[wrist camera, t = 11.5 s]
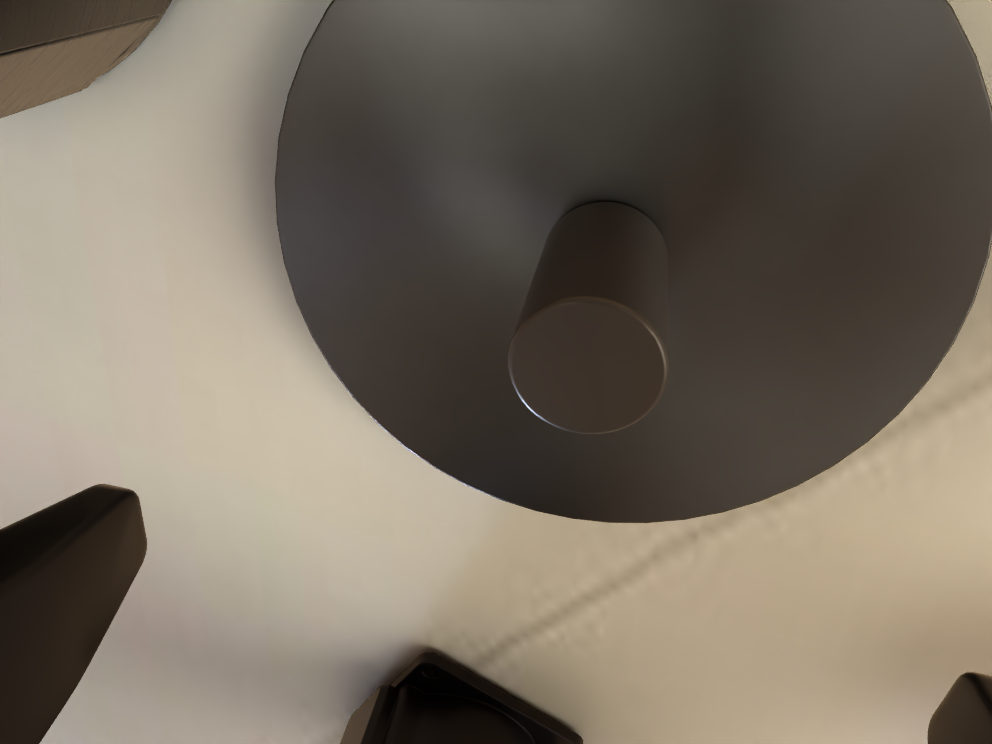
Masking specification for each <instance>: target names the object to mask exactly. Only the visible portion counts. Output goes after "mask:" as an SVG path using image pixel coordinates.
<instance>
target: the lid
mask: <svg viewBox="0 0 992 744" xmlns="http://www.w3.org/2000/svg"><path fill="white" fill-rule="evenodd" d="M275 191H276V212H277V225H278V231H279V237H280V242H281V248H282V254H283V259H284V264H285V267H286V270H287V273H288V277H289V280H290V283H291V286H292V290H293V293H294V296H295V299H296V302H297V304H298V306H299V309H300V311H301V313H302V315H303V318H304V320H305V322H306V324H307V327H308V329H309V331H310V333H311V335H312V337H313V339H314V340H315V342H316V344H317V345H318V347H319V349H320V351H321V352H322V354H323V356H324V357H325V359H326V361H327V362H328V364H329V366H330V367H331V369H332V370H333V371H334V373H335V374H336V375H337V377H338V378H339V379H340V381H341V382H342V383H343V385H344V386H345V387H346V389H347V390H348V391H349V393H350V394H351V395H352V397H353V398H354V399H355V400H356V401H357V402H358V403H359V404H360V405H361V406H362V407H363V408H364V409H365V410H366V411H367V413H368V414H369V415H370V416H371V417H372V418H373V419H374V420H375V421H376V422H377V423H378V424H379V425H380V426H381V427H382V428H384V429H385V430H386V431H387V432H388V433H389V434H391V435H392V436H393V437H394V438H395V439H396V440H398V441H399V442H400V443H401V444H402V445H403V446H405V447H406V448H407V449H409V450H410V451H412V452H413V453H414V454H416V455H417V456H419V457H420V458H422V459H423V460H425V461H426V462H428V463H429V464H430V465H432V466H433V467H435V468H436V469H438V470H440V471H442V472H444V473H445V474H447V475H449V476H451V477H453V478H454V479H456V480H458V481H460V482H462V483H464V484H465V485H467V486H469V487H472V488H474V489H476V490H479V491H481V492H484V493H486V494H488V495H491V496H493V497H495V498H498V499H500V500H503V501H506V502H509V503H512V504H515V505H519V506H522V507H525V508H528V509H531V510H535V511H539V512H543V513H548V514H553V515H558V516H563V517H567V518H572V519H581V520H591V521H600V522H609V523H651V522H663V521H674V520H685V519H690V518H695V517H701V516H706V515H711V514H717V513H722V512H725V511H729V510H732V509H735V508H739V507H742V506H746V505H749V504H752V503H756V502H759V501H762V500H764V499H767V498H769V497H771V496H774V495H776V494H779V493H781V492H783V491H786V490H788V489H791V488H793V487H795V486H798V485H800V484H801V483H803V482H805V481H807V480H809V479H810V478H812V477H814V476H816V475H818V474H820V473H821V472H823V471H825V470H827V469H829V468H831V467H832V466H834V465H835V464H837V463H838V462H840V461H841V460H842V459H844V458H845V457H847V456H848V455H850V454H851V453H852V452H854V451H855V450H857V449H858V448H860V447H861V446H862V445H864V444H865V443H867V442H868V441H869V440H870V439H871V438H872V437H874V436H875V435H876V434H877V433H878V432H879V431H880V430H881V429H883V428H884V427H885V426H886V425H887V424H888V423H889V422H890V421H891V420H893V419H894V418H895V417H896V416H897V415H898V414H899V413H900V412H901V411H902V410H903V409H904V408H905V406H906V405H907V404H908V403H909V402H910V401H911V400H912V399H913V397H914V396H915V395H916V394H917V393H918V392H919V391H920V389H921V388H922V387H923V386H924V385H925V384H926V383H927V381H928V380H929V379H930V377H931V376H932V374H933V373H934V371H935V370H936V368H937V367H938V365H939V364H940V362H941V361H942V360H943V358H944V357H945V355H946V354H947V352H948V351H949V349H950V348H951V346H952V345H953V343H954V341H955V339H956V337H957V335H958V333H959V331H960V329H961V327H962V325H963V323H964V321H965V319H966V317H967V315H968V313H969V311H970V309H971V307H972V305H973V303H974V300H975V297H976V294H977V291H978V288H979V285H980V282H981V279H982V276H983V273H984V270H985V268H986V265H987V262H988V259H989V255H990V249H991V243H992V106H991V102H990V99H989V96H988V93H987V89H986V86H985V83H984V79H983V76H982V73H981V70H980V66H979V63H978V60H977V57H976V55H975V53H974V51H973V49H972V47H971V44H970V42H969V40H968V38H967V36H966V34H965V32H964V30H963V28H962V26H961V24H960V22H959V20H958V18H957V16H956V14H955V12H954V10H953V8H952V7H951V5H950V4H949V3H948V1H947V0H333V1H332V2H331V4H330V5H329V6H328V8H327V9H326V11H325V13H324V15H323V17H322V19H321V20H320V22H319V24H318V26H317V28H316V30H315V32H314V33H313V35H312V37H311V39H310V41H309V43H308V45H307V46H306V48H305V50H304V53H303V55H302V58H301V61H300V63H299V66H298V69H297V72H296V74H295V77H294V80H293V82H292V85H291V88H290V91H289V93H288V97H287V102H286V106H285V111H284V115H283V120H282V124H281V129H280V133H279V139H278V151H277V163H276V175H275Z"/></svg>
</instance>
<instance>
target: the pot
mask: <svg viewBox="0 0 992 744" xmlns="http://www.w3.org/2000/svg"><path fill="white" fill-rule="evenodd" d="M171 1H172V0H0V118H3V117H6V116H9V115H12V114H15V113H18V112H20V111H23V110H26V109H29V108H32V107H35V106H38V105H41V104H44V103H47V102H50V101H53V100H56V99H59V98H62V97H65V96H67V95H70V94H73V93H76V92H79V91H81V90H82V89H85V88H87V87H88V86H89V85H90V84H91V83H92V82H93V81H94V80H95V79H96V78H97V77H99V76H101V75H103V74H105V73H107V72H109V71H110V70H111V69H112V68H114V67H115V66H116V65H117V64H119V63H120V62H121V61H122V60H124V59H125V58H126V57H127V56H129V55H130V54H131V53H132V52H133V51H135V50H136V48H137V47H138V46H139V45H140V44H141V43H142V42H143V40H144V39H145V38H146V37H147V36H148V35H149V33H150V32H151V31H152V30H153V29H154V28H155V27H156V25H157V24H158V23H159V21H160V19H161V18H162V16H163V15H164V13H165V11H166V10H167V8H168V6H169V5H170V3H171Z"/></svg>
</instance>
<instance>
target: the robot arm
mask: <svg viewBox="0 0 992 744" xmlns="http://www.w3.org/2000/svg"><path fill="white" fill-rule="evenodd" d="M146 550H147V538H146V533H145V528H144V522H143V517H142V511H141V506H140V501H139V497H138V496H137V494H136V493H135V492H134V491H132V490H130V489H126V488H121V487H117V486H112V485H107V484H98V485H95V486H92V487H90V488H87V489H85V490H83V491H81V492H79V493H77V494H75V495H73V496H70V497H68V498H66V499H64V500H62V501H60V502H58V503H56V504H53V505H51V506H49V507H47V508H45V509H43V510H41V511H39V512H36V513H34V514H32V515H30V516H28V517H26V518H24V519H22V520H20V521H17V522H15V523H13V524H11V525H9V526H7V527H5V528H3V529H0V744H39V743H40V742H41V740H42V739H43V737H44V736H45V734H46V733H47V731H48V730H49V728H50V727H51V725H52V724H53V722H54V721H55V719H56V718H57V716H58V714H59V713H60V711H61V710H62V708H63V707H64V705H65V704H66V702H67V701H68V699H69V698H70V696H71V694H72V693H73V691H74V690H75V688H76V687H77V685H78V683H79V682H80V680H81V678H82V676H83V674H84V673H85V671H86V669H87V667H88V666H89V664H90V662H91V660H92V658H93V656H94V654H95V652H96V651H97V649H98V647H99V645H100V643H101V641H102V639H103V637H104V635H105V633H106V632H107V630H108V628H109V626H110V624H111V622H112V620H113V618H114V616H115V615H116V613H117V611H118V609H119V607H120V605H121V603H122V601H123V599H124V597H125V596H126V594H127V592H128V590H129V588H130V586H131V584H132V582H133V580H134V578H135V577H136V575H137V573H138V571H139V569H140V567H141V565H142V563H143V561H144V558H145V555H146ZM340 744H583V740H582V738H581V737H580V736H579V735H578V734H576V733H575V732H573V731H571V730H569V729H568V728H566V727H564V726H562V725H561V724H559V723H557V722H555V721H554V720H552V719H550V718H548V717H547V716H545V715H543V714H542V713H540V712H538V711H536V710H535V709H533V708H531V707H529V706H528V705H526V704H524V703H522V702H521V701H519V700H517V699H515V698H514V697H512V696H510V695H508V694H507V693H505V692H503V691H502V690H500V689H498V688H496V687H495V686H493V685H491V684H489V683H488V682H486V681H484V680H482V679H481V678H479V677H477V676H475V675H474V674H472V673H470V672H468V671H467V670H465V669H463V668H462V667H460V666H458V665H456V664H455V663H453V662H451V661H449V660H448V659H446V658H444V657H442V656H441V655H438V654H436V653H430V652H428V653H424V654H422V655H420V656H419V657H418V658H417V659H416V660H415V661H414V662H413V663H412V664H411V665H410V666H409V667H408V668H407V669H406V670H405V671H404V672H403V673H402V674H401V675H400V676H399V677H398V678H397V679H396V680H395V681H394V682H393V683H392V684H389V683H388V684H386V685H383V686H380V687H379V688H378V689H377V690H376V691H375V692H374V693H373V694H372V695H371V696H370V697H369V698H368V699H367V700H366V701H365V702H364V703H363V704H362V705H361V706H360V707H359V708H358V709H357V710H356V711H355V712H354V713H353V714H352V716H351V717H350V719H349V722H348V725H347V727H346V730H345V732H344V735H343V738H342V740H341V743H340ZM928 744H992V676H989V675H984V674H979V673H975V672H967V673H965V674H963V675H961V676H960V677H959V678H958V679H957V680H956V682H955V683H954V685H953V686H952V688H951V689H950V691H949V692H948V694H947V695H946V697H945V698H944V700H943V701H942V702H941V704H940V705H939V707H938V708H937V710H936V711H935V713H934V714H933V716H932V718H931V720H930V723H929V728H928Z"/></svg>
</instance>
